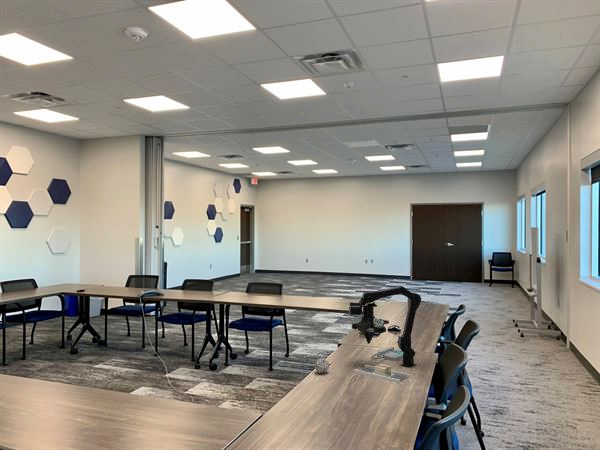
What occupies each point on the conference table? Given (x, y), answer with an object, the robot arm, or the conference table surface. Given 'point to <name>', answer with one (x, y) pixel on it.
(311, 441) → the conference table surface
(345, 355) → the conference table surface
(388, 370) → the birch block
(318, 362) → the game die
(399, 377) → the trap lane
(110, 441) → the conference table surface
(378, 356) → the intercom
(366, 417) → the conference table surface
